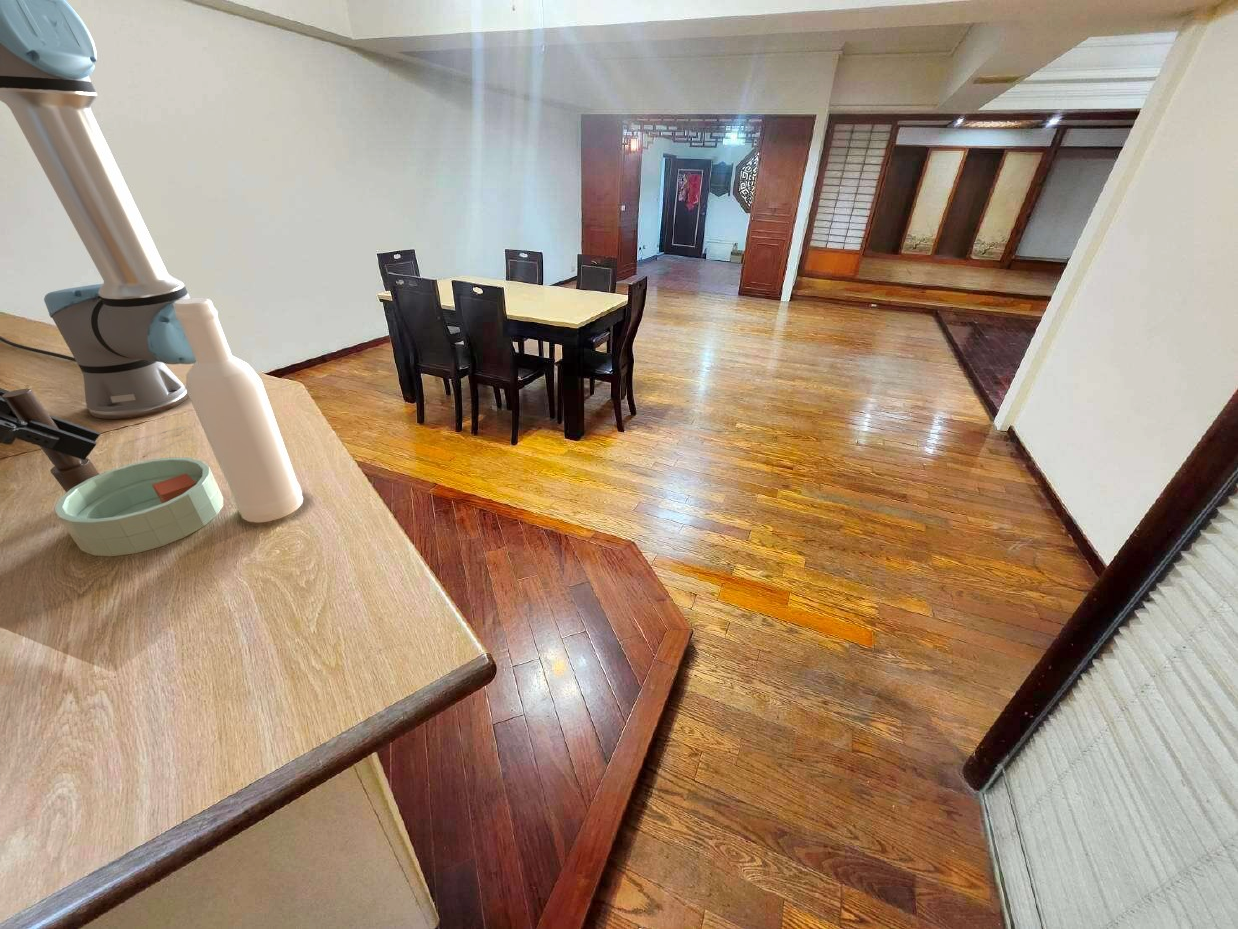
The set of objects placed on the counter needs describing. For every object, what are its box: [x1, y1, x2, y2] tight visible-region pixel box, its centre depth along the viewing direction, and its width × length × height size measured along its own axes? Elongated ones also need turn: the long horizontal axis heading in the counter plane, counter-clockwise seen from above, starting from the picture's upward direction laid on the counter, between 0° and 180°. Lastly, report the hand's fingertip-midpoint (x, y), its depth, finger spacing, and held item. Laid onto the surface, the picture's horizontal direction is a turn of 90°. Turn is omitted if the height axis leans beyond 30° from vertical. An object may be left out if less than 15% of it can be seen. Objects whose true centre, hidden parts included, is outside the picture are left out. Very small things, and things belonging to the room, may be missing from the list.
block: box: [152, 474, 197, 503], centre depth 70 cm, size 4×4×4 cm
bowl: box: [53, 456, 224, 557], centre depth 68 cm, size 16×16×6 cm
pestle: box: [2, 388, 100, 493], centre depth 67 cm, size 4×4×16 cm
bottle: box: [173, 297, 304, 523], centre depth 65 cm, size 8×8×30 cm
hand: (92, 446), depth 69 cm, fingers closed on pestle, 3 cm apart
